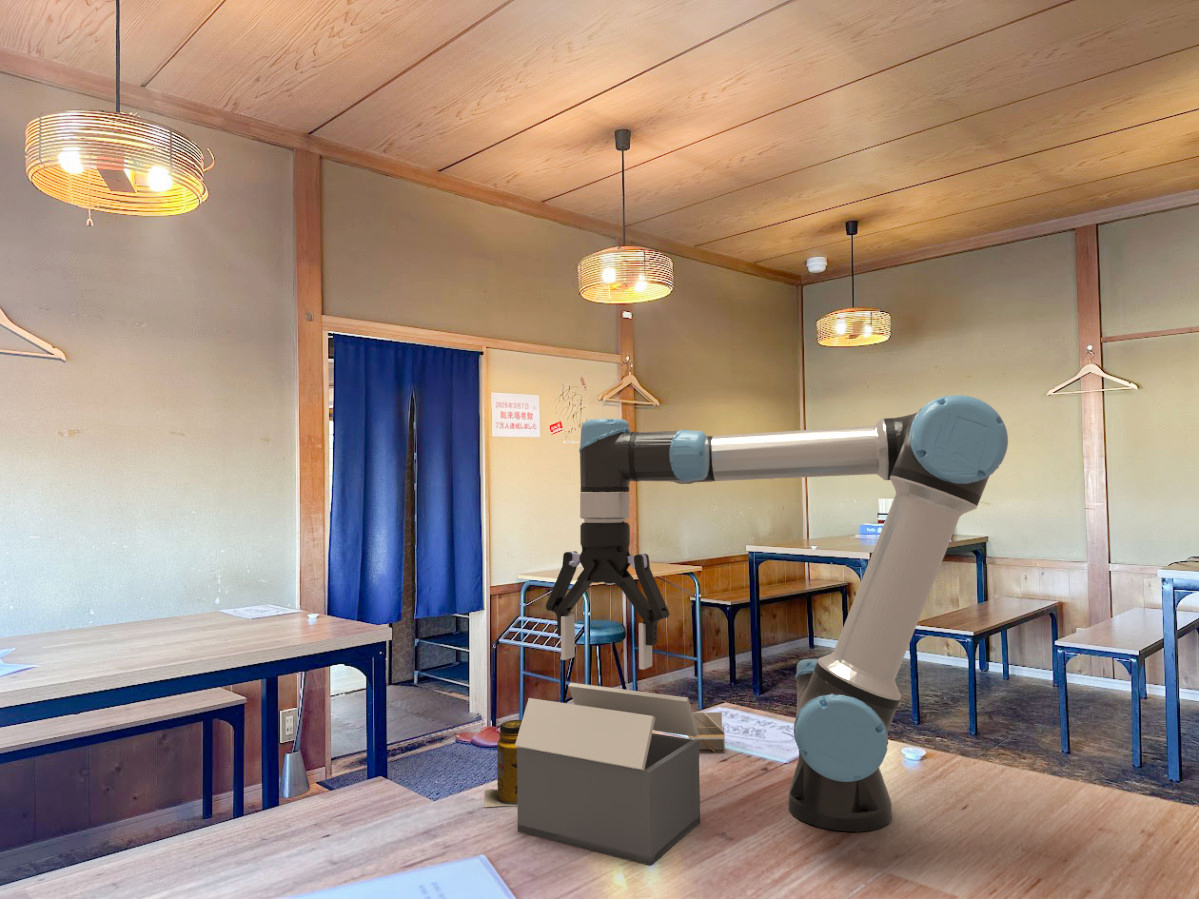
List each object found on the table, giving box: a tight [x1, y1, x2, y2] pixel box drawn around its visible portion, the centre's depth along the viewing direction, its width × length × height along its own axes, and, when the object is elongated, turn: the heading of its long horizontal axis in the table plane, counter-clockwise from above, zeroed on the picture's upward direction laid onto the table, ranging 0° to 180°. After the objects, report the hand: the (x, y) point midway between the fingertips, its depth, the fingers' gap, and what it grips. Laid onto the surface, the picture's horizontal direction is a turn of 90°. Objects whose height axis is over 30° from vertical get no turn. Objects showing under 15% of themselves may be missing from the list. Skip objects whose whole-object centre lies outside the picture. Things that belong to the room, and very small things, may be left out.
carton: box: [516, 732, 701, 866], centre depth 116 cm, size 22×16×12 cm
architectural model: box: [687, 711, 726, 752], centre depth 151 cm, size 3×7×7 cm, turn 89°
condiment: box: [483, 719, 522, 808], centre depth 128 cm, size 7×8×12 cm
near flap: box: [515, 697, 655, 771], centre depth 111 cm, size 21×7×1 cm
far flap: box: [567, 682, 699, 737], centre depth 123 cm, size 21×7×1 cm
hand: (605, 663), depth 118 cm, fingers open, 13 cm apart
